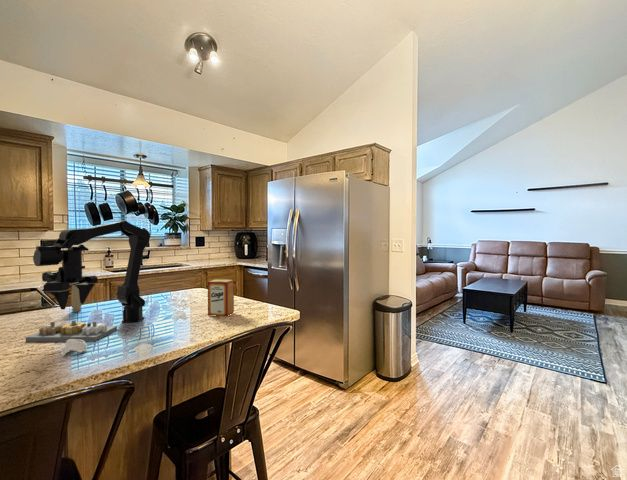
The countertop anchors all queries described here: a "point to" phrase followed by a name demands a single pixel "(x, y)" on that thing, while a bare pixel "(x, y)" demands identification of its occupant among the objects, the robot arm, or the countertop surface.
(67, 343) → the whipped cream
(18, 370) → the countertop surface
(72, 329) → the brass gear
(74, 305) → the handle
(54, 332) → the gear board
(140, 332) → the countertop surface
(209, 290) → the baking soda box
